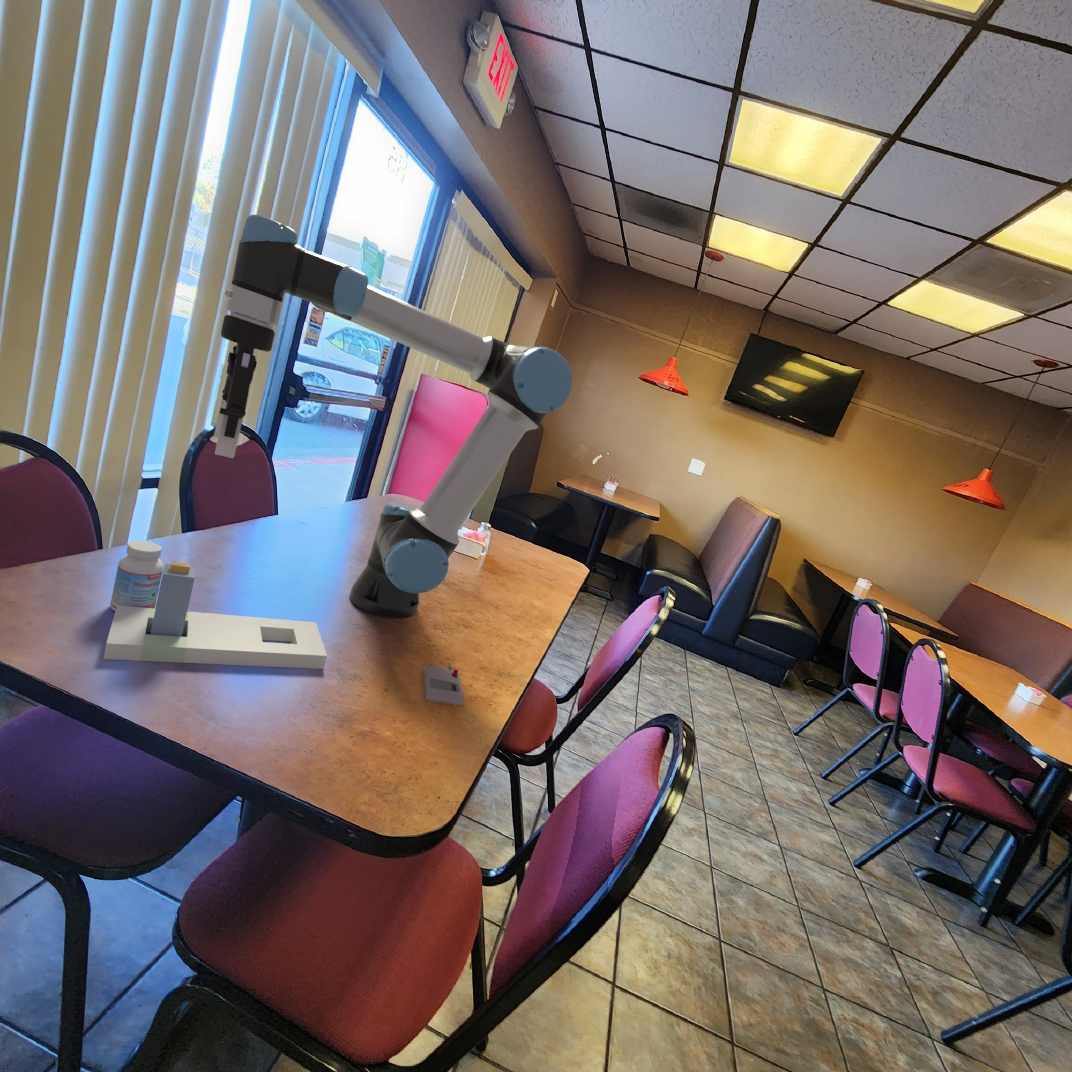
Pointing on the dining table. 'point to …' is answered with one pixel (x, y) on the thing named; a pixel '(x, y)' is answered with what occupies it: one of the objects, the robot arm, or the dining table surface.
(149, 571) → the pill bottle
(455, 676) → the remote control
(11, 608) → the dining table surface
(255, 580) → the dining table surface
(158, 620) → the plug
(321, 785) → the dining table surface
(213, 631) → the panel
